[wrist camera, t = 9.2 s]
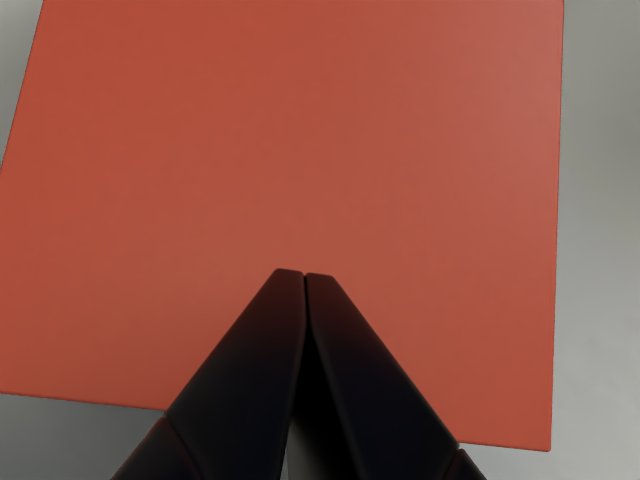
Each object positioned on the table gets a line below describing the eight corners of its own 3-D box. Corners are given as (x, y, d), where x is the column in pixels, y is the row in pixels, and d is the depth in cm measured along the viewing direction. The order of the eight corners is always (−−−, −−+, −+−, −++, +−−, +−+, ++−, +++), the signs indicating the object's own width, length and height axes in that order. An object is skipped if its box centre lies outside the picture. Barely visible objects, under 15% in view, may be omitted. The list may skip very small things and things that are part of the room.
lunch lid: (108, -203, 15) (101, -233, 14) (552, -97, 16) (568, -119, 16) (-38, 385, 12) (-57, 387, 11) (533, 446, 13) (551, 453, 12)
